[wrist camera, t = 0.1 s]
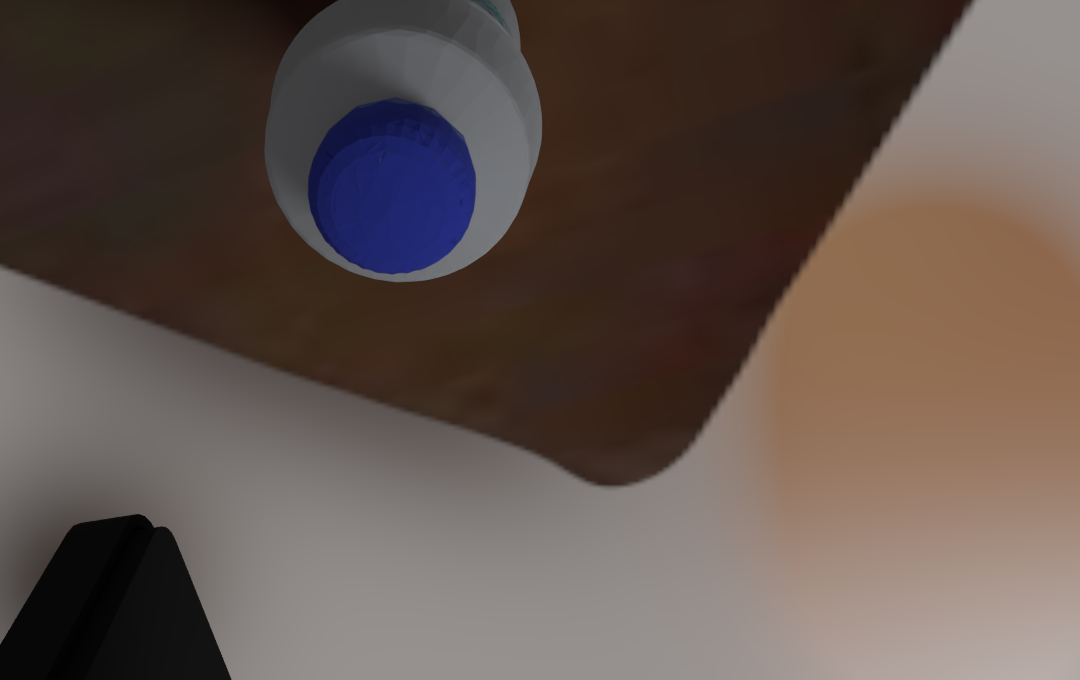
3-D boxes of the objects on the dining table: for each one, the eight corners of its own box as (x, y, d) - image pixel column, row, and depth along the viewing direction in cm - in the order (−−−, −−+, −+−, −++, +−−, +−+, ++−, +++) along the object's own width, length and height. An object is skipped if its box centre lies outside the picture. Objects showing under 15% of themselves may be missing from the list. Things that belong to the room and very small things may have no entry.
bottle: (457, -106, 35) (428, -42, 17) (557, 59, 38) (621, 261, 20) (303, 1, 36) (129, 163, 19) (411, 153, 39) (348, 421, 21)
